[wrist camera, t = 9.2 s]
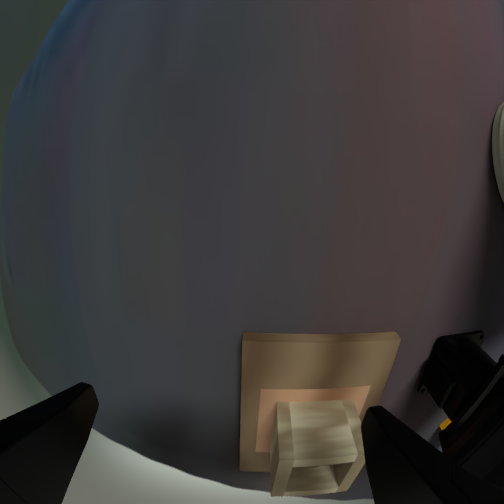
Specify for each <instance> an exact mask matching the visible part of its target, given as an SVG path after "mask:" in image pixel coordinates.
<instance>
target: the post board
mask: <svg viewBox="0 0 504 504" xmlns="http://www.w3.org/2000/svg"><path fill="white" fill-rule="evenodd" d="M400 341H401V338H400V337H399V336H398V335H397V333H396V332H380V333H355V334H280V333H254V332H243V340H242V376H241V420H240V471H251V472H271V467H270V443H271V437H272V430H273V424H274V417H275V409H276V402H307V401H331V400H346V399H353V401H354V404H355V407H356V409H357V412H358V415H359V418H360V421H361V423H362V420H363V418H364V415H365V413H366V411H367V409H368V408H369V407H370V406H377V405H378V403H379V400H380V398H381V395H382V393H383V390H384V388H385V385H386V382H387V380H388V377H389V374H390V372H391V369H392V366H393V363H394V360H395V357H396V354H397V351H398V348H399V345H400ZM307 467H317V466H307Z"/></svg>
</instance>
